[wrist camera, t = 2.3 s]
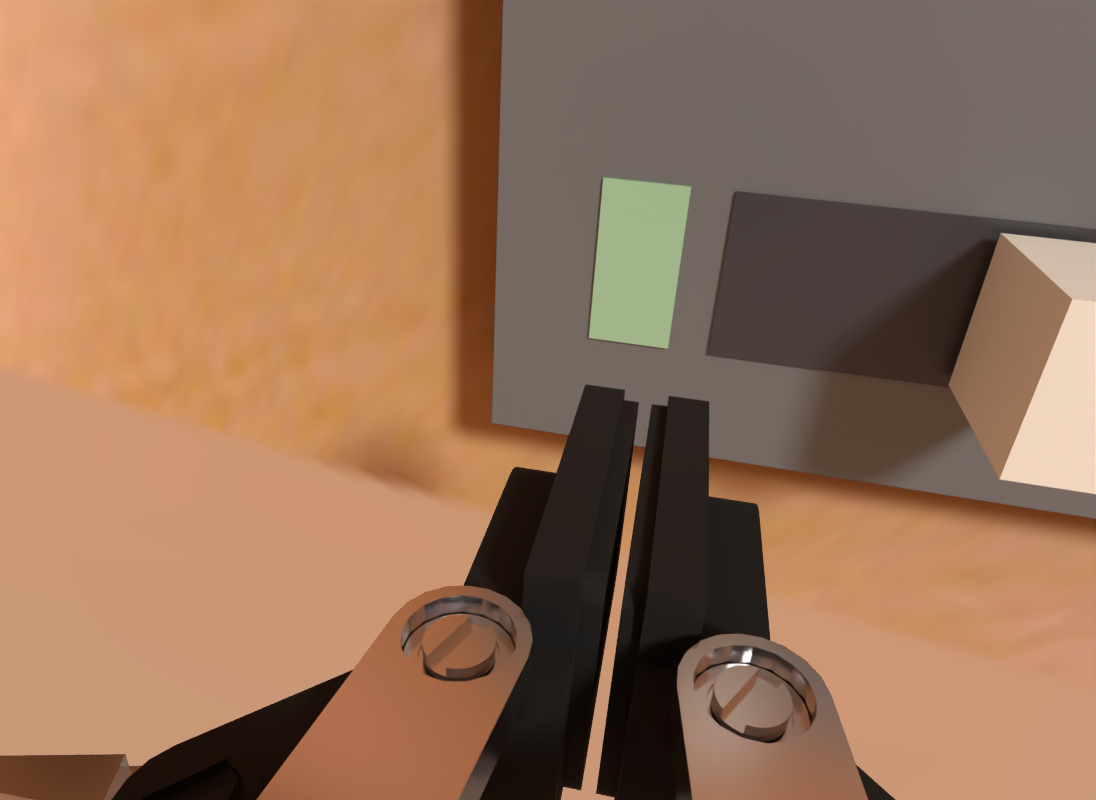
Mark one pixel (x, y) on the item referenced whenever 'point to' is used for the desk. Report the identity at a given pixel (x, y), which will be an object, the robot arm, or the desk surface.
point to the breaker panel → (782, 216)
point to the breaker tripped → (1034, 363)
